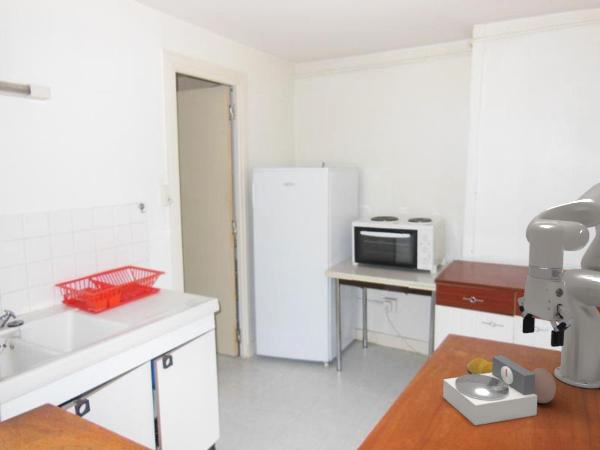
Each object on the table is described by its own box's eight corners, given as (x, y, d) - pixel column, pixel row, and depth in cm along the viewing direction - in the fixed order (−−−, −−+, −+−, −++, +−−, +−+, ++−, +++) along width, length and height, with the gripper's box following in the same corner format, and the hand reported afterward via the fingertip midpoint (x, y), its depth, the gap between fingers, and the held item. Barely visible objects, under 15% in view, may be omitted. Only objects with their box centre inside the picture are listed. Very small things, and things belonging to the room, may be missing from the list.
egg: (547, 395, 120) (549, 362, 119) (560, 408, 113) (561, 374, 112) (521, 395, 120) (523, 362, 119) (532, 408, 114) (534, 373, 113)
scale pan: (487, 374, 122) (487, 371, 122) (520, 396, 110) (520, 393, 110) (445, 380, 119) (445, 377, 119) (474, 403, 107) (474, 400, 107)
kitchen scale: (499, 388, 124) (500, 353, 123) (536, 414, 111) (538, 375, 110) (443, 397, 120) (443, 361, 119) (475, 425, 107) (475, 385, 106)
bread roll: (493, 382, 129) (493, 369, 128) (463, 372, 135) (464, 359, 135) (506, 373, 134) (506, 360, 133) (477, 364, 141) (478, 352, 140)
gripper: (586, 279, 105) (582, 350, 107) (532, 265, 122) (530, 327, 124) (559, 281, 104) (556, 353, 105) (508, 267, 120) (506, 329, 122)
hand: (542, 339), depth 115 cm, fingers open, 9 cm apart
